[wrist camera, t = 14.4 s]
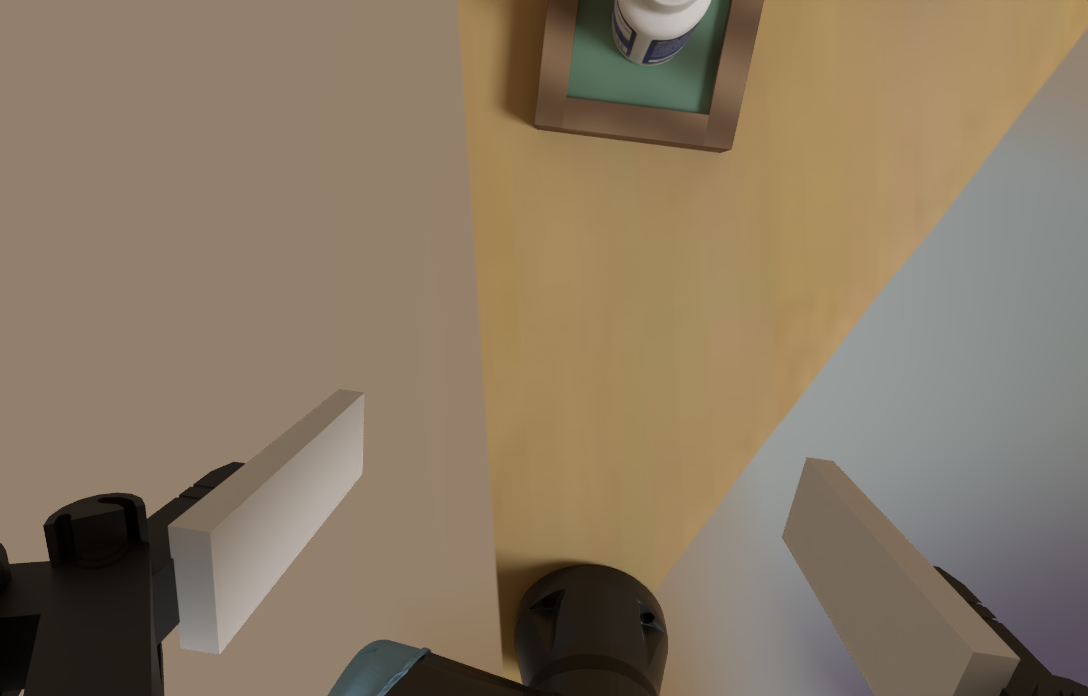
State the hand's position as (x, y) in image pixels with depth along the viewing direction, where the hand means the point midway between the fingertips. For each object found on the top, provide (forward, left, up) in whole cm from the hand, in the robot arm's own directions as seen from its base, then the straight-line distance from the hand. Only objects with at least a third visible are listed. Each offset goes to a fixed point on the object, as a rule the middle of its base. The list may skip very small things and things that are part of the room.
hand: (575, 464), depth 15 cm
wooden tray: (+19, -2, -29) cm, 34 cm away
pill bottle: (+19, -2, -27) cm, 33 cm away
